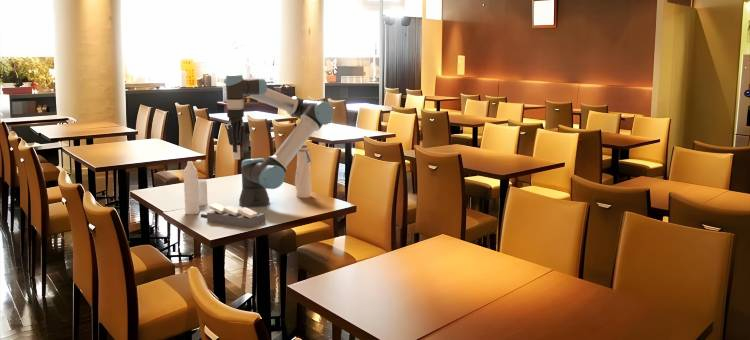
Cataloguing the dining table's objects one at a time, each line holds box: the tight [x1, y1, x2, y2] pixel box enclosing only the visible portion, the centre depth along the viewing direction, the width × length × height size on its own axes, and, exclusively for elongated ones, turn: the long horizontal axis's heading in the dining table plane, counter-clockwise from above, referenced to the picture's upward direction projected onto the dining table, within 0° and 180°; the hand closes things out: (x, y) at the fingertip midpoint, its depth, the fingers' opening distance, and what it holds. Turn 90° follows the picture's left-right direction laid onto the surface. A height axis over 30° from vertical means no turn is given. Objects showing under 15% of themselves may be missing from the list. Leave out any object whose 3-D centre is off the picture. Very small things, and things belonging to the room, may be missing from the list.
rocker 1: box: [208, 202, 226, 214], centre depth 277 cm, size 5×7×1 cm
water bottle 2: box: [294, 143, 313, 199], centre depth 325 cm, size 10×9×28 cm
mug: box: [198, 178, 209, 207], centre depth 306 cm, size 8×12×12 cm
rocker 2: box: [223, 204, 240, 216], centre depth 274 cm, size 5×7×1 cm
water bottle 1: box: [182, 159, 202, 215], centre depth 290 cm, size 9×6×25 cm
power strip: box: [200, 210, 266, 229], centre depth 278 cm, size 11×33×5 cm, turn 64°
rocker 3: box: [238, 206, 258, 218], centre depth 271 cm, size 5×7×1 cm
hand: (237, 159), depth 286 cm, fingers closed
